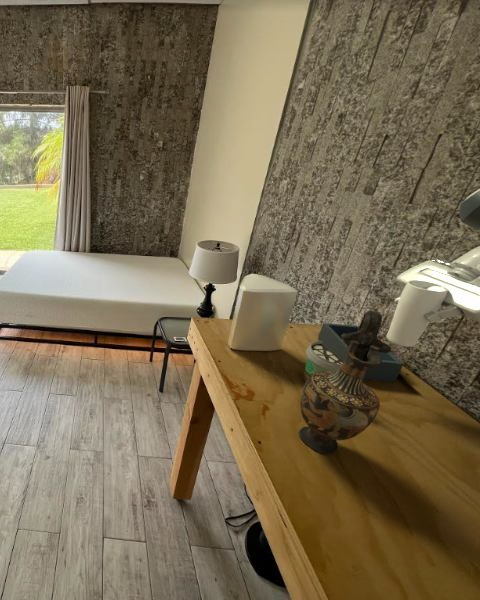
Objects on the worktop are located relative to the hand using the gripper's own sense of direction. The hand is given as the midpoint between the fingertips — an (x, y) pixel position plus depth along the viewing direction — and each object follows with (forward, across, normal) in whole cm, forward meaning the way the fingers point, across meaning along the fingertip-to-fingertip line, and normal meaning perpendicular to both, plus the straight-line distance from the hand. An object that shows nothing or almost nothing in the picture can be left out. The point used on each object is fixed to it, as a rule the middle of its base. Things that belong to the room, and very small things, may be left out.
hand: (411, 311), depth 74 cm
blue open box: (+14, -13, +18) cm, 26 cm away
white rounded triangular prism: (+33, -22, -1) cm, 40 cm away
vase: (+34, +18, -2) cm, 38 cm away
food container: (+27, -1, +5) cm, 27 cm away
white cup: (+6, 0, +6) cm, 9 cm away
